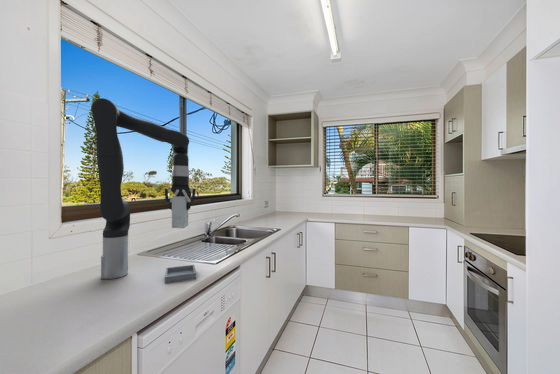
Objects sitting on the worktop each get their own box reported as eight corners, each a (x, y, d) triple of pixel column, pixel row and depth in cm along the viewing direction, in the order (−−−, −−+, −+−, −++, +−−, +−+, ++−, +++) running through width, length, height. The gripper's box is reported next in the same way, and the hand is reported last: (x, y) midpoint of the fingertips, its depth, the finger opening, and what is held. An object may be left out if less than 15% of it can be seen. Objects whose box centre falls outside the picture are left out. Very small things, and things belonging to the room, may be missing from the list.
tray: (164, 283, 98) (164, 277, 98) (165, 273, 109) (165, 267, 109) (196, 279, 103) (196, 273, 103) (194, 269, 114) (194, 264, 114)
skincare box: (184, 228, 114) (184, 196, 114) (170, 228, 113) (171, 196, 113) (188, 225, 122) (188, 196, 122) (175, 225, 121) (176, 195, 121)
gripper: (163, 174, 111) (163, 211, 111) (196, 175, 117) (196, 210, 117) (164, 175, 118) (163, 209, 118) (195, 176, 124) (195, 209, 124)
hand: (180, 210), depth 117 cm, fingers closed on skincare box, 6 cm apart
